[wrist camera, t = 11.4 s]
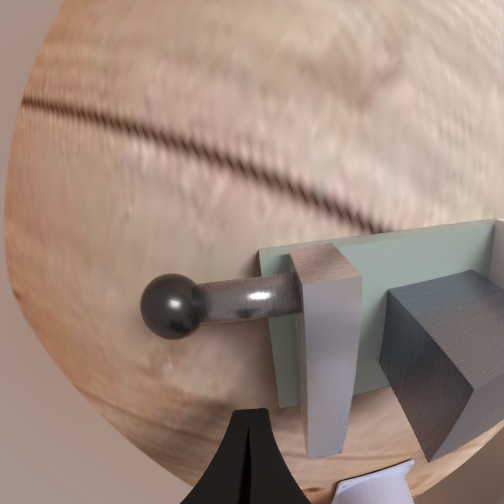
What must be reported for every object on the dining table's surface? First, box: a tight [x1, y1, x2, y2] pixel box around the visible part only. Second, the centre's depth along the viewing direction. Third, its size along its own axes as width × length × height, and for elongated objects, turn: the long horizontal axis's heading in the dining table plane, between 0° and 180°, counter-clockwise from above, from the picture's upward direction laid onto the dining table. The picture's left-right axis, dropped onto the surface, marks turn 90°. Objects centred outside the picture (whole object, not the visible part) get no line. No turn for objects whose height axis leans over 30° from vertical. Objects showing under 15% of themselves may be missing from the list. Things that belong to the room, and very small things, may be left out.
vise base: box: [259, 218, 504, 408], centre depth 9 cm, size 9×13×4 cm, turn 98°
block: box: [379, 269, 504, 463], centre depth 7 cm, size 5×4×6 cm
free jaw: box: [140, 243, 362, 460], centre depth 9 cm, size 9×6×3 cm
